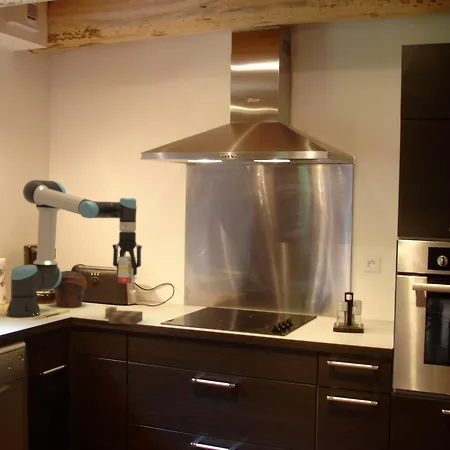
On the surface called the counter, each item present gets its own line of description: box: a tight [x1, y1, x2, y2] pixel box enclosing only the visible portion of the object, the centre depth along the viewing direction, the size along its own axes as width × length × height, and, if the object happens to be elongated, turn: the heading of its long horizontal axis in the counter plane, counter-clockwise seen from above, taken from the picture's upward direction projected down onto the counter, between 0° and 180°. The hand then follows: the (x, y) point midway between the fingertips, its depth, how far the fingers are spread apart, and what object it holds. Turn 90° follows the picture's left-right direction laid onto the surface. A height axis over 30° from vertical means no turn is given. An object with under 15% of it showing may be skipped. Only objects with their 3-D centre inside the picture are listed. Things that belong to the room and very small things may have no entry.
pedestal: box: [108, 309, 144, 326], centre depth 288 cm, size 12×12×4 cm
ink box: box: [117, 255, 137, 285], centre depth 288 cm, size 9×5×12 cm, turn 163°
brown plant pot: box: [53, 270, 88, 309], centre depth 329 cm, size 18×20×18 cm
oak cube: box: [104, 306, 118, 320], centre depth 298 cm, size 5×5×5 cm
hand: (126, 281), depth 288 cm, fingers closed on ink box, 5 cm apart
